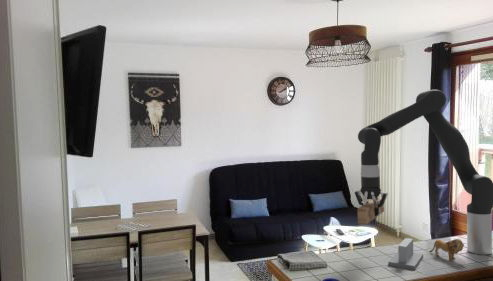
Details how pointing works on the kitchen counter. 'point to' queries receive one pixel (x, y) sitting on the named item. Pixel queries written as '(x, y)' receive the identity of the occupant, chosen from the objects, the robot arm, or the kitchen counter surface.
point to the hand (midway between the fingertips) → (371, 215)
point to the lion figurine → (448, 247)
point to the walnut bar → (368, 212)
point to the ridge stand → (406, 256)
